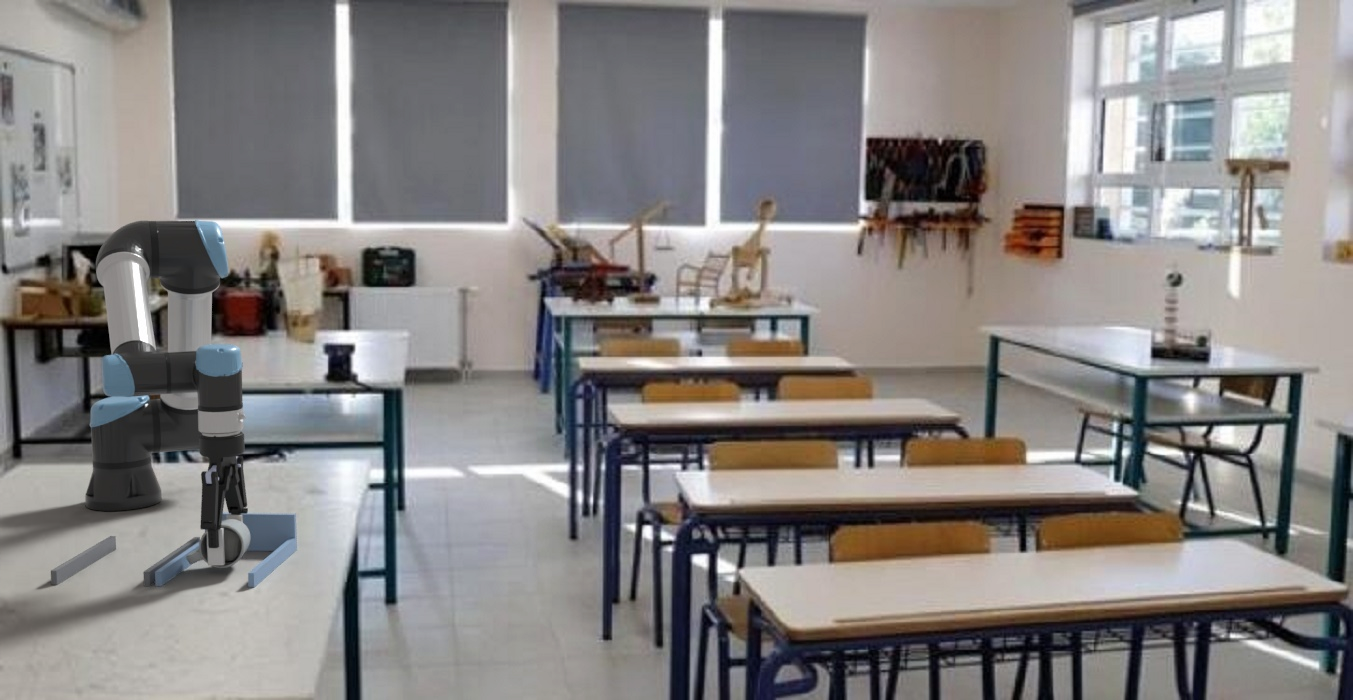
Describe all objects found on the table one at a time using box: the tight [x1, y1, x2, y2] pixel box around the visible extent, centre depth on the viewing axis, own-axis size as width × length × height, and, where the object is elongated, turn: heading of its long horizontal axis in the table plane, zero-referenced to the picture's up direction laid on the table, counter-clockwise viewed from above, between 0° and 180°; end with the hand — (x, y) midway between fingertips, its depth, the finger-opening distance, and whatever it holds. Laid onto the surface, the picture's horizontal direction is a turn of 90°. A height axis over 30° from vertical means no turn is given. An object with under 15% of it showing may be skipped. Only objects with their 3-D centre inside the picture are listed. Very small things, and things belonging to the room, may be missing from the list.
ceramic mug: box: [186, 519, 250, 569], centre depth 224 cm, size 11×8×8 cm
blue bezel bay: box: [155, 512, 298, 588], centre depth 226 cm, size 23×17×7 cm
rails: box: [50, 535, 201, 587], centre depth 226 cm, size 22×17×2 cm
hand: (226, 557), depth 225 cm, fingers closed on ceramic mug, 8 cm apart
